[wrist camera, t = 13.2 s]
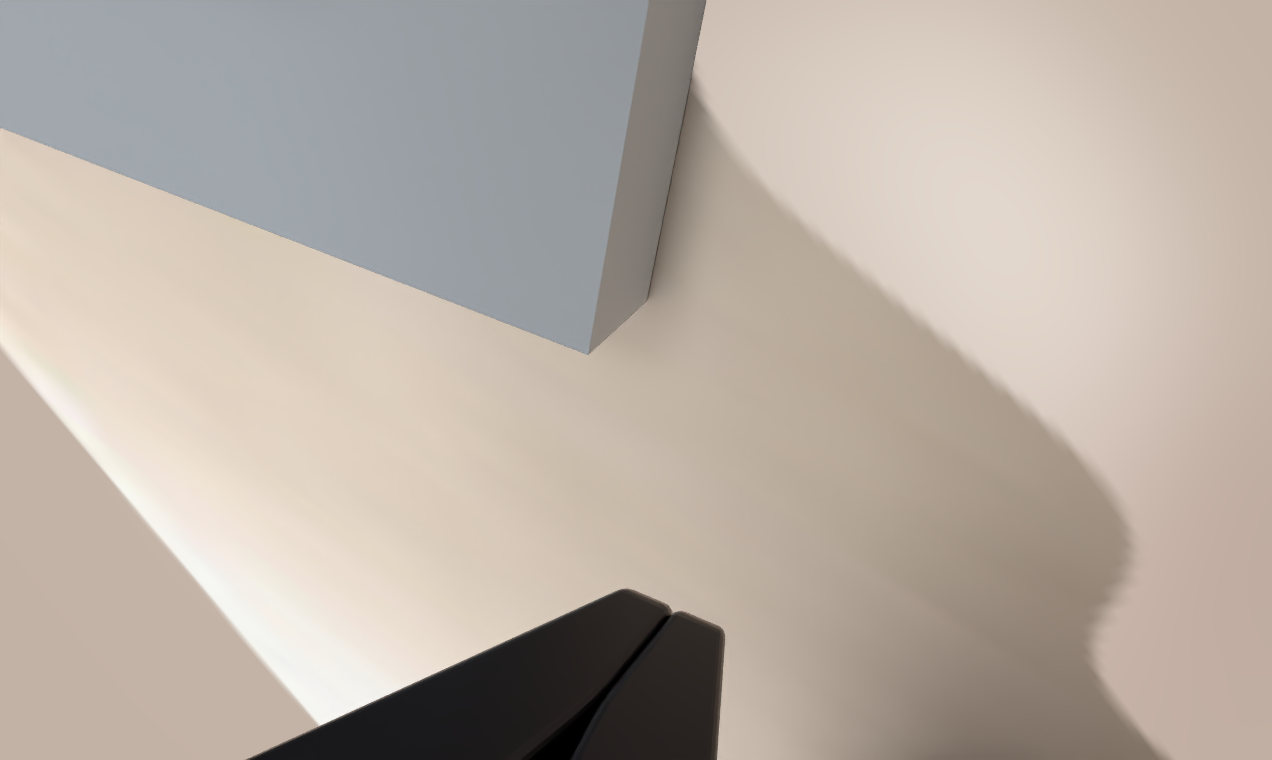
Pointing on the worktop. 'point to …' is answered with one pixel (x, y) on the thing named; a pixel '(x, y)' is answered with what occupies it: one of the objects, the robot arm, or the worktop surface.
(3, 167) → the worktop surface
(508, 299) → the socket board
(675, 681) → the robot arm
